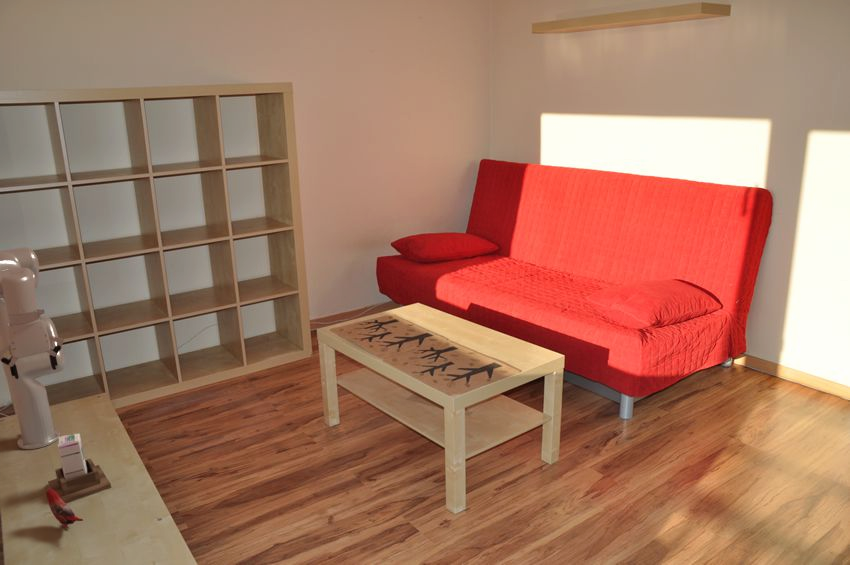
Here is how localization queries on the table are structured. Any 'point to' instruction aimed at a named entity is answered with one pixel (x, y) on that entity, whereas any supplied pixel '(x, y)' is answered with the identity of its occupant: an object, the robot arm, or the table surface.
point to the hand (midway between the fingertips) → (35, 372)
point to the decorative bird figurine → (60, 509)
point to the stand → (80, 483)
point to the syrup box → (71, 456)
